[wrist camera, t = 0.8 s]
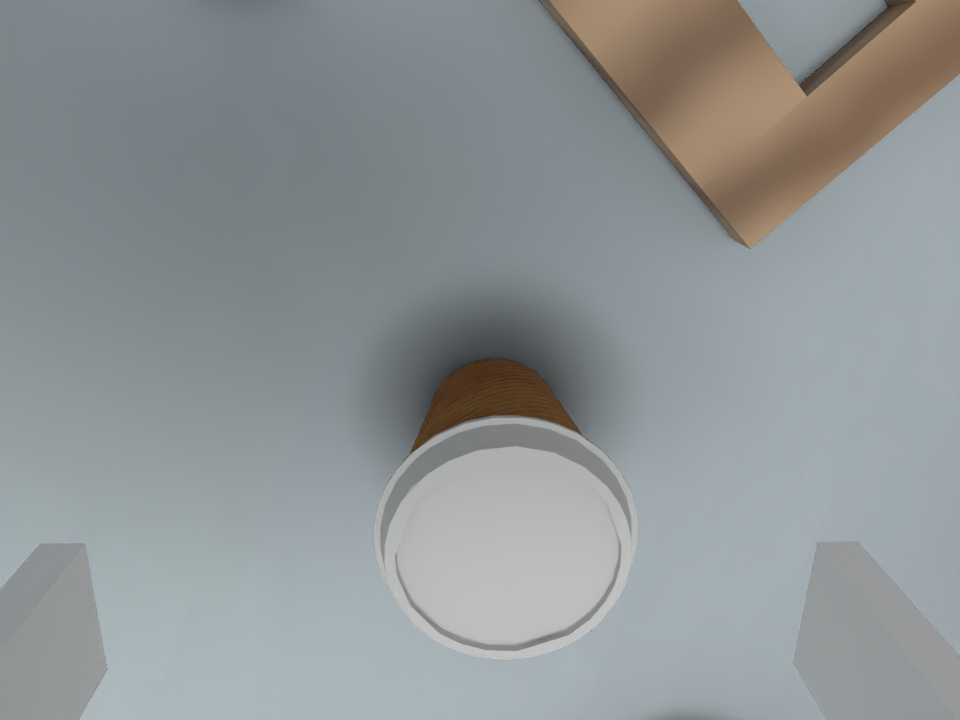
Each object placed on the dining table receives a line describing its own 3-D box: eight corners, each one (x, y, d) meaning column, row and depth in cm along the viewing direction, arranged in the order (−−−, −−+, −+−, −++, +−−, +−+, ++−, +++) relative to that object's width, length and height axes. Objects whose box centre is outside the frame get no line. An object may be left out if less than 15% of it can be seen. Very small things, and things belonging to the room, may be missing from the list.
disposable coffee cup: (505, 285, 36) (527, 376, 24) (628, 426, 38) (700, 568, 27) (355, 410, 38) (311, 548, 26) (482, 537, 40) (492, 713, 29)
